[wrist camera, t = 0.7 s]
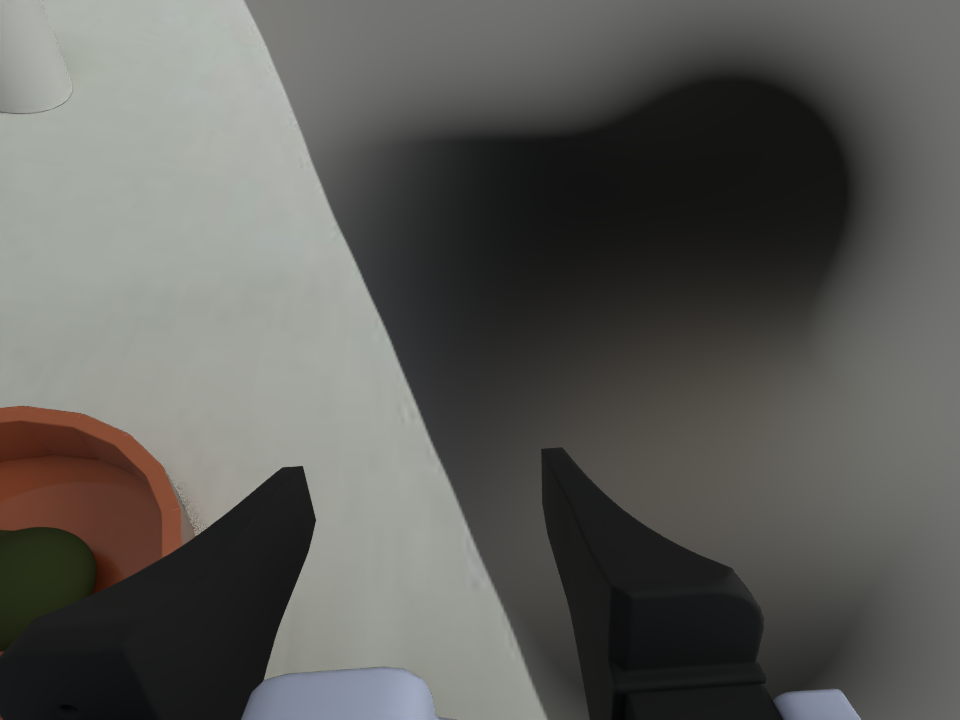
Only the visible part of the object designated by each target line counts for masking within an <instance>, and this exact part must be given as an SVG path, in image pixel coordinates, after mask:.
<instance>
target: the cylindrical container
mask: <svg viewBox="0 0 960 720" xmlns="http://www.w3.org/2000/svg"><path fill="white" fill-rule="evenodd" d="M71 93H72V84H71V81H70V78H69V75H68V72H67V69H66V67H65V64H64V61H63V58H62V55H61V53H60V50H59V47H58V44H57V41H56V39H55V36H54V33H53V30H52V27H51V25H50V22H49V19H48V16H47V13H46V11H45V8H44V5H43V2H42V0H0V112H7V113H35V112H41V111H46V110H49V109H52V108H55V107H57V106H59V105H61V104H63V103H64V102H65V101H67V100H68V98H69V97H70V96H71Z"/></svg>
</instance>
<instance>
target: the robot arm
mask: <svg viewBox="0 0 960 720" xmlns="http://www.w3.org/2000/svg"><path fill="white" fill-rule="evenodd" d="M541 454H542V456H541V457H542V504H543V510H544V516H545V522H546V528H547V533H548V537H549V540H550V544H551V548H552V551H553V554H554V558H555V561H556V564H557V568H558V571H559V574H560V578H561V581H562V585H563V588H564V591H565V595H566V598H567V602H568V606H569V609H570V614H571V619H572V624H573V629H574V635H575V640H576V645H577V650H578V656H579V661H580V667H581V672H582V678H583V683H584V689H585V694H586V700H587V706H588V712H589V718H590V720H861V719H860V717H859V716H858V715H857V713H856V712H855V710H854V709H853V707H852V706H851V704H850V703H849V702H848V700H847V699H846V697H845V696H844V694H843V693H842V692H841V691H840V690H838V689H823V690H809V691H796V692H788V693H783V694H781V695H780V696H778V697H776V698H775V699H774V701H772V699H771V697H770V696H769V694H768V692H767V690H766V689H765V686H764V685H763V684H764V683H765V682H766V677H765V674H764V672H763V670H762V669H761V667H760V665H759V664H758V662H757V655H758V651H759V647H760V642H761V638H762V633H763V628H764V617H763V614H762V611H761V609H760V607H759V605H758V603H757V602H756V600H755V599H754V597H753V596H752V594H751V593H750V591H749V590H748V588H747V587H746V586H745V584H744V583H743V582H742V581H741V579H740V578H739V577H738V576H737V575H736V573H735V572H734V570H733V569H732V568H730V567H728V566H725V565H723V564H720V563H718V562H715V561H713V560H711V559H708V558H705V557H703V556H701V555H698V554H696V553H694V552H692V551H690V550H688V549H686V548H684V547H682V546H680V545H678V544H676V543H674V542H672V541H670V540H668V539H666V538H665V537H663V536H661V535H660V534H658V533H656V532H655V531H653V530H651V529H650V528H648V527H647V526H645V525H644V524H642V523H641V522H639V521H638V520H636V519H635V518H634V517H632V516H631V515H629V514H628V513H627V512H625V511H624V510H623V509H621V508H620V507H619V506H618V505H617V504H616V503H614V502H613V501H612V500H611V499H610V498H609V497H608V496H607V495H605V494H604V493H603V492H602V491H601V490H600V489H599V488H598V487H597V486H596V485H595V484H594V483H593V482H592V481H591V480H590V479H589V478H588V477H587V476H586V474H584V472H583V471H582V470H581V469H580V468H579V467H578V466H577V464H576V463H575V462H574V461H573V460H572V459H571V457H570V456H569V455H568V454H567V452H566V451H565V450H564V449H563V448H547V449H541ZM315 522H316V518H315V514H314V510H313V506H312V502H311V498H310V494H309V490H308V486H307V481H306V477H305V473H304V469H303V466H297V467H283V468H281V469H280V470H279V471H277V472H276V473H275V474H274V475H272V476H271V477H270V478H269V479H267V480H266V481H265V482H264V483H263V484H262V485H260V486H259V487H258V488H257V489H256V490H255V491H253V492H252V493H251V494H250V495H249V496H247V497H246V498H245V499H244V500H243V501H241V502H240V503H239V504H238V505H237V506H235V507H234V508H233V509H232V510H230V511H229V512H228V513H226V514H225V515H224V516H223V517H221V518H220V519H219V520H217V521H216V522H215V523H213V524H212V525H211V526H210V527H208V528H207V529H206V530H204V531H203V532H201V533H200V534H199V535H197V536H196V537H194V538H193V539H191V540H190V541H189V542H187V543H185V544H184V545H182V546H181V547H179V548H178V549H176V550H175V551H173V552H172V553H170V554H168V555H167V556H165V557H163V558H161V559H160V560H158V561H156V562H154V563H153V564H151V565H149V566H147V567H146V568H144V569H142V570H140V571H139V572H137V573H135V574H133V575H131V576H130V577H128V578H126V579H124V580H122V581H120V582H118V583H116V584H114V585H112V586H110V587H108V588H105V589H103V590H101V591H99V592H97V593H95V594H93V595H90V596H88V597H86V598H84V599H82V600H79V601H77V602H74V603H72V604H69V605H67V606H65V607H62V608H60V609H57V610H55V611H52V612H50V613H48V614H45V615H43V616H40V617H37V618H35V619H33V620H32V622H31V623H30V624H29V625H28V626H27V627H26V628H25V629H24V630H23V632H22V633H21V634H20V635H19V636H18V637H17V638H16V639H15V640H14V642H13V643H12V644H11V645H10V646H9V647H8V648H7V649H6V650H5V651H4V653H3V654H2V655H1V656H0V716H1V718H2V719H3V720H455V719H448V718H442V717H437V716H436V713H435V711H434V705H433V699H432V694H431V692H430V690H429V688H428V687H427V685H426V683H425V682H424V680H423V679H422V678H420V677H419V676H417V675H415V674H413V673H411V672H409V671H407V670H405V669H401V668H391V667H373V668H360V669H346V670H332V671H318V672H305V673H291V674H284V675H281V676H277V677H273V678H270V679H267V680H264V676H265V672H266V668H267V665H268V661H269V658H270V654H271V651H272V647H273V644H274V640H275V637H276V634H277V631H278V628H279V625H280V622H281V619H282V617H283V614H284V612H285V609H286V607H287V604H288V602H289V599H290V597H291V594H292V592H293V589H294V587H295V584H296V582H297V579H298V577H299V574H300V572H301V569H302V567H303V564H304V562H305V559H306V556H307V554H308V551H309V547H310V543H311V540H312V536H313V531H314V527H315ZM263 680H264V681H263Z"/></svg>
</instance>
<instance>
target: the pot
mask: <svg viewBox="0 0 960 720" xmlns="http://www.w3.org/2000/svg"><path fill="white" fill-rule="evenodd" d="M31 527H51V528H58V529H62V530H65V531H68V532H70V533H72V534H74V535H76V536H78V537H79V538H81V539H82V540H83V541H84V542H85V543H86V544H87V545H88V546H89V548H90V549H91V551H92V553H93V554H94V557H95V560H96V565H97V579H96V585H95V588H94V591H93V593H92V595H93V594H95V593H97V592H99V591H101V590H103V589H105V588H108V587H110V586H112V585H114V584H116V583H118V582H120V581H122V580H124V579H126V578H128V577H130V576H131V575H133V574H135V573H137V572H139V571H140V570H142V569H144V568H146V567H147V566H149V565H151V564H153V563H154V562H156V561H158V560H160V559H161V558H163V557H165V556H167V555H168V554H170V553H172V552H173V551H175V550H176V549H178V548H179V547H181V546H182V545H184V544H185V543H187V542H189V541H190V540H191V539H193V538H194V537H195V531H194V528H193V526H192V524H191V521H190V519H189V517H188V514H187V512H186V510H185V507H184V505H183V503H182V501H181V498H180V496H179V494H178V492H177V490H176V488H175V487H174V485H173V483H172V481H171V480H170V478H169V476H168V475H167V473H166V471H165V469H164V468H163V466H162V465H161V464H160V463H159V462H158V461H157V460H156V459H155V458H154V457H153V456H152V455H151V454H150V453H149V452H148V451H147V450H146V449H145V448H144V447H143V446H142V445H141V444H139V443H138V442H137V441H136V440H135V439H134V438H133V437H132V436H131V435H130V434H128V433H126V432H124V431H122V430H119V429H117V428H115V427H112V426H110V425H108V424H106V423H103V422H101V421H99V420H97V419H94V418H92V417H90V416H88V415H85V414H81V413H75V412H67V411H60V410H52V409H45V408H37V407H29V406H15V407H5V408H0V530H12V531H16V530H20V529H25V528H31ZM3 653H4V651H0V656H1V655H2V654H3ZM0 720H3V719H2V718H1V716H0Z"/></svg>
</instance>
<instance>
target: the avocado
mask: <svg viewBox="0 0 960 720" xmlns="http://www.w3.org/2000/svg"><path fill="white" fill-rule="evenodd" d="M96 579H97V565H96V560H95V557H94V554H93V553H92V551H91V549H90V548H89V546H88V545H87V544H86V543H85V542H84V541H83V540H82V539H81V538H79V537H78V536H76V535H74V534H72V533H70V532H68V531H65V530H62V529H58V528H51V527H31V528H25V529H20V530H16V531H12V530H0V651H5V650H6V649H7V648H8V647H9V646H10V645H11V644H12V643H13V642H14V640H15V639H16V638H17V637H18V636H19V635H20V634H21V633H22V632H23V630H24V629H25V628H26V627H27V626H28V625H29V624H30V623H31V622H32V620H33V619H35V618H37V617H40V616H43V615H45V614H48V613H50V612H52V611H55V610H57V609H60V608H62V607H65V606H67V605H69V604H72V603H74V602H77V601H79V600H82V599H84V598H86V597H88V596H90V595H92V593H93V591H94V588H95V585H96Z"/></svg>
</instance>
